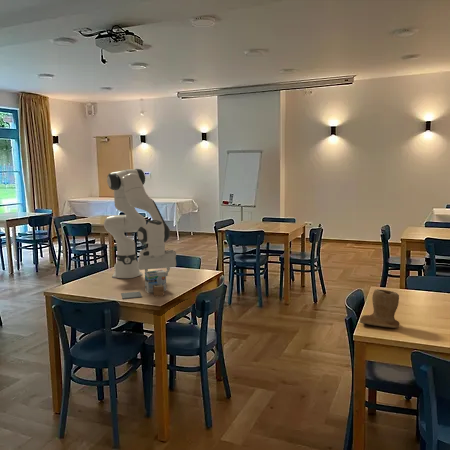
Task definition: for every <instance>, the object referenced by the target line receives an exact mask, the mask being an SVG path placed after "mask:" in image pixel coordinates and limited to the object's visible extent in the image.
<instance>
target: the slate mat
mask: <svg viewBox="0 0 450 450" xmlns="http://www.w3.org/2000/svg"><path fill="white" fill-rule="evenodd" d="M120 295H121V297H122V298H121V299H122V300H127V299H128V300H129V299H139V298H143V295H142V294H141V291H132V292H130V291H129V292H121V293H120Z"/></svg>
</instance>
